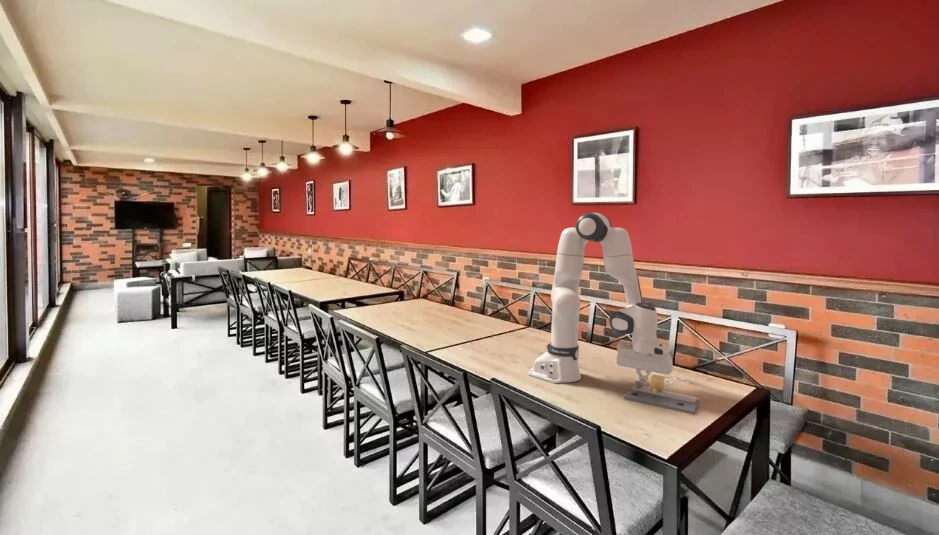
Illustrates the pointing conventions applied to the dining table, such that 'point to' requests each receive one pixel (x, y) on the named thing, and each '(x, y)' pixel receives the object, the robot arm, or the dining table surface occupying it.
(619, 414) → the dining table surface
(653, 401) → the plate
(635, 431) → the dining table surface
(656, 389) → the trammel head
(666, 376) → the scissors
